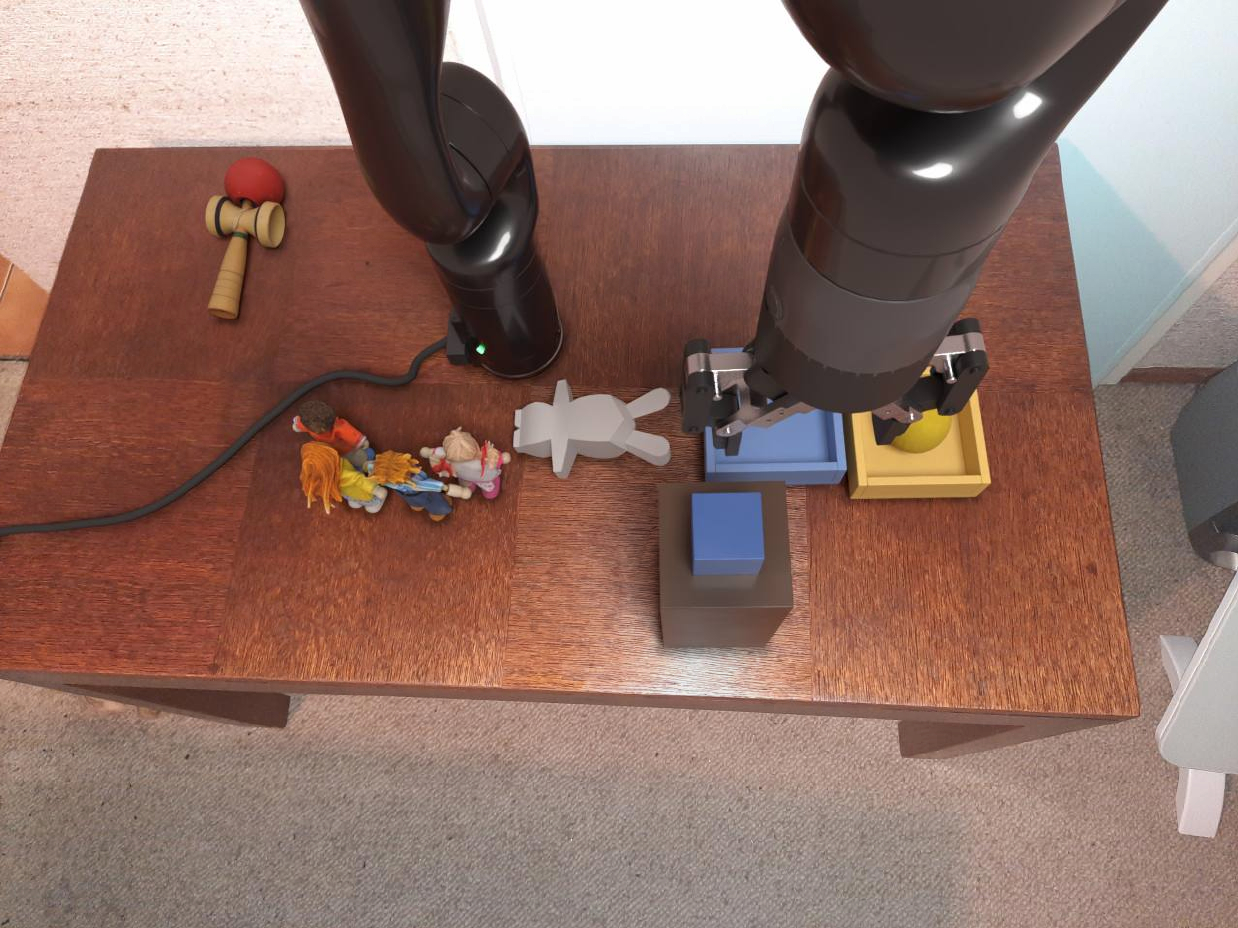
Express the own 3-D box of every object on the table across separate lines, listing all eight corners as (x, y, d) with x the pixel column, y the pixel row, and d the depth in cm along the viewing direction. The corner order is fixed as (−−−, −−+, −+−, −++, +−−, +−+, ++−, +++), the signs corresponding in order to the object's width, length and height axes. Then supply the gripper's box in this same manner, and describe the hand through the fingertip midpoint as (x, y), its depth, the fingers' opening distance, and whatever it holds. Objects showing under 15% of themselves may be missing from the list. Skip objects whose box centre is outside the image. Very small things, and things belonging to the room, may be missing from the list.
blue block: (692, 575, 59) (693, 560, 54) (690, 512, 60) (691, 493, 56) (758, 574, 58) (764, 559, 54) (755, 511, 60) (761, 491, 56)
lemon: (948, 435, 81) (976, 400, 74) (913, 476, 80) (937, 445, 73) (901, 400, 83) (923, 363, 75) (865, 439, 82) (884, 406, 74)
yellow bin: (850, 499, 80) (858, 485, 77) (839, 386, 84) (847, 368, 80) (976, 497, 80) (991, 483, 76) (959, 383, 84) (973, 365, 80)
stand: (663, 647, 77) (660, 608, 58) (662, 550, 80) (658, 482, 61) (764, 647, 76) (793, 607, 57) (759, 549, 79) (785, 480, 61)
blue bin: (705, 486, 82) (706, 472, 78) (701, 367, 86) (702, 348, 82) (838, 484, 81) (847, 469, 77) (828, 364, 85) (835, 345, 81)
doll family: (526, 473, 83) (500, 421, 71) (500, 567, 80) (469, 530, 68) (324, 434, 86) (265, 377, 74) (291, 523, 83) (224, 480, 71)
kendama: (276, 327, 92) (307, 175, 96) (236, 304, 86) (271, 142, 90) (216, 326, 94) (249, 177, 98) (173, 303, 88) (210, 146, 92)
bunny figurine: (512, 376, 82) (666, 366, 80) (527, 398, 87) (673, 389, 85) (506, 469, 79) (666, 462, 77) (521, 486, 84) (673, 480, 81)
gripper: (1026, 189, 35) (918, 366, 50) (674, 218, 35) (674, 384, 50) (1069, 355, 32) (941, 489, 47) (689, 383, 33) (684, 506, 48)
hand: (803, 435), depth 49 cm, fingers open, 8 cm apart
